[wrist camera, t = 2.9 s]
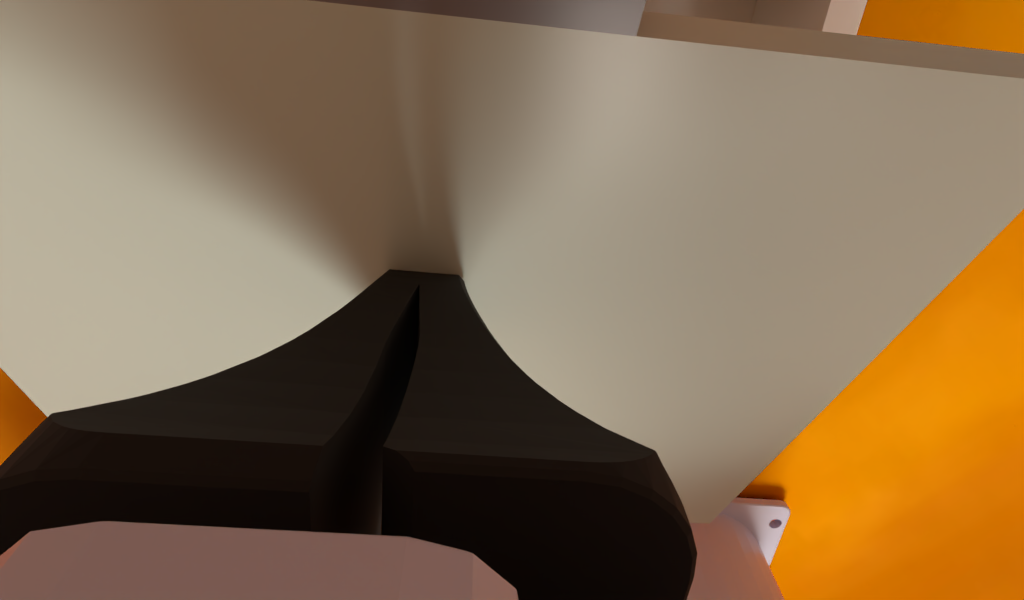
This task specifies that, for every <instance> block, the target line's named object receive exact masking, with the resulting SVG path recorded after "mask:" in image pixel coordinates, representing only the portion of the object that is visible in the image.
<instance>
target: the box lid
mask: <svg viewBox="0 0 1024 600" xmlns="http://www.w3.org/2000/svg"><path fill="white" fill-rule="evenodd" d="M645 3H646V0H0V368H1V369H2V370H3V371H4V372H5V373H6V374H7V375H8V376H9V377H10V378H11V379H12V380H13V381H14V382H15V383H16V385H17V386H18V387H19V388H20V389H21V390H22V391H23V392H24V393H25V394H26V395H27V396H28V397H29V398H30V399H31V400H32V401H33V402H34V404H35V405H36V406H37V407H38V408H39V409H40V410H41V411H42V412H43V413H44V414H45V415H46V416H47V417H48V416H49V415H50V414H52V413H56V412H62V411H68V410H74V409H79V408H84V407H89V406H94V405H99V404H104V403H109V402H114V401H119V400H124V399H129V398H134V397H138V396H142V395H146V394H150V393H154V392H157V391H161V390H165V389H168V388H172V387H176V386H179V385H183V384H186V383H189V382H192V381H195V380H199V379H202V378H205V377H208V376H211V375H213V374H216V373H219V372H221V371H224V370H226V369H229V368H231V367H234V366H236V365H239V364H241V363H244V362H246V361H249V360H251V359H254V358H257V357H259V356H261V355H263V354H265V353H267V352H269V351H271V350H273V349H275V348H277V347H279V346H281V345H283V344H285V343H287V342H289V341H291V340H293V339H295V338H296V337H298V336H300V335H302V334H303V333H305V332H307V331H308V330H310V329H311V328H313V327H314V326H316V325H317V324H319V323H320V322H322V321H323V320H325V319H326V318H328V317H329V316H331V315H332V314H334V313H335V312H337V311H338V310H340V309H341V308H342V307H343V306H345V305H346V304H347V303H349V302H350V301H351V300H352V299H354V298H355V297H356V296H357V295H359V294H360V293H361V292H362V291H364V290H365V289H366V288H367V287H368V286H370V285H371V284H372V283H373V282H374V281H375V280H377V279H378V278H379V277H380V276H382V275H383V274H384V273H385V272H387V271H388V270H389V269H392V270H404V271H417V272H429V273H441V274H454V275H459V276H460V277H461V278H462V279H463V280H464V281H465V286H466V289H467V292H468V294H469V296H470V298H471V300H472V302H473V304H474V306H475V308H476V310H477V312H478V313H479V315H480V317H481V318H482V320H483V321H484V323H485V325H486V326H487V328H488V329H489V331H490V332H491V334H492V335H493V337H494V338H495V339H496V341H497V342H498V343H499V345H500V346H501V347H502V348H503V350H504V351H505V352H506V354H507V355H508V356H509V357H510V358H511V359H512V361H513V362H514V363H515V364H516V365H518V366H519V367H520V368H521V369H522V370H523V371H524V372H525V373H526V374H527V375H528V376H529V377H530V378H531V379H532V380H534V381H535V382H536V383H537V384H538V385H540V386H541V387H542V388H544V389H545V390H546V391H547V392H549V393H550V394H551V395H553V396H554V397H555V398H557V399H558V400H559V401H561V402H562V403H564V404H565V405H567V406H568V407H570V408H571V409H573V410H575V411H576V412H578V413H579V414H581V415H583V416H585V417H586V418H588V419H590V420H592V421H593V422H595V423H597V424H599V425H600V426H602V427H604V428H606V429H608V430H610V431H613V432H615V433H617V434H619V435H621V436H624V437H626V438H628V439H630V440H633V441H635V442H637V443H639V444H642V445H644V446H646V447H648V448H650V449H653V450H655V451H656V452H657V454H658V456H659V458H660V460H661V462H662V464H663V466H664V468H665V470H666V471H667V473H668V475H669V477H670V479H671V481H672V483H673V485H674V487H675V489H676V491H677V493H678V495H679V497H680V499H681V501H682V504H683V506H684V509H685V512H686V514H687V517H688V520H689V523H706V524H710V523H711V522H712V521H713V520H714V519H715V518H716V517H717V516H718V515H719V514H720V513H721V512H722V511H723V510H724V509H725V508H726V507H727V506H728V505H729V504H730V503H731V502H732V501H733V500H734V499H735V498H736V497H737V496H738V495H739V494H740V493H741V492H742V491H743V490H744V489H745V488H746V487H747V486H748V485H749V484H750V483H751V482H752V481H753V480H754V479H755V478H756V477H757V476H758V475H759V474H760V473H761V472H762V471H763V470H764V469H765V468H766V467H767V466H768V465H769V464H770V463H771V462H772V461H773V460H774V459H775V458H776V457H777V456H778V455H779V454H780V453H781V452H782V451H783V450H784V449H785V448H786V447H787V446H788V445H789V444H790V443H791V442H792V441H793V440H794V439H795V438H796V437H797V436H798V435H799V433H800V432H801V431H802V430H803V429H804V428H805V427H806V426H807V425H808V424H809V423H810V422H811V421H812V420H813V419H814V418H815V417H816V416H817V415H818V414H819V413H820V412H821V411H822V410H823V409H824V408H825V407H826V406H827V405H828V404H829V403H830V402H831V401H832V400H833V399H834V398H835V397H836V396H837V395H838V394H839V393H840V392H841V391H842V390H843V389H844V388H845V387H846V386H847V385H848V384H849V383H850V382H851V381H852V380H853V379H854V378H855V377H856V376H857V375H858V374H859V373H860V372H861V371H862V370H863V369H864V368H865V367H866V366H867V365H868V364H869V363H870V362H871V361H872V360H873V359H874V358H875V357H876V356H877V355H878V354H879V353H880V352H881V351H882V350H883V349H884V348H885V347H886V346H887V345H888V344H889V343H890V342H891V341H892V340H893V339H894V338H895V337H896V336H897V335H898V334H899V333H900V332H901V331H902V330H903V329H904V328H905V327H906V326H907V325H908V324H909V323H910V322H911V321H912V320H913V319H914V318H915V317H916V316H917V315H918V314H919V313H920V312H921V311H922V310H923V309H924V308H925V307H926V306H927V305H928V304H929V303H930V302H931V301H932V300H933V299H934V298H935V297H936V296H937V295H938V294H939V293H940V292H941V291H942V290H943V289H944V288H945V287H946V286H947V285H948V284H949V283H950V282H951V281H952V280H953V279H954V278H955V277H956V276H957V275H958V274H959V273H960V272H961V271H962V270H963V269H964V268H965V267H966V266H967V265H968V264H969V263H970V262H971V261H972V260H973V259H974V258H975V257H976V256H977V255H978V254H979V253H980V252H981V251H982V250H983V249H984V248H985V247H986V246H987V245H988V244H989V243H990V242H991V241H992V240H993V239H994V238H995V237H996V236H997V235H998V234H999V233H1000V232H1001V231H1002V230H1003V229H1004V228H1005V227H1006V226H1007V225H1008V224H1009V223H1010V222H1011V221H1012V220H1013V219H1014V218H1015V217H1016V216H1017V215H1018V214H1019V213H1020V212H1021V211H1022V210H1023V209H1024V54H1019V53H1010V52H1001V51H992V50H984V49H975V48H966V47H957V46H948V45H939V44H930V43H921V42H913V41H904V40H895V39H886V38H877V37H868V36H859V35H851V34H842V33H833V32H824V31H815V30H806V29H797V28H788V27H780V26H771V25H762V24H753V23H744V22H735V21H726V20H717V19H709V18H700V17H691V16H682V15H673V14H664V13H655V12H646V11H643V10H644V7H645Z"/></svg>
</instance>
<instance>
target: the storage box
mask: <svg viewBox="0 0 1024 600" xmlns="http://www.w3.org/2000/svg"><path fill="white" fill-rule="evenodd" d="M866 3H867V0H646V3H645V7H644V10H643V11H646V12H655V13H664V14H673V15H682V16H691V17H700V18H709V19H717V20H726V21H735V22H744V23H753V24H762V25H771V26H780V27H788V28H797V29H806V30H815V31H824V32H833V33H842V34H851V35H856V34H857V31H858V28H859V25H860V22H861V19H862V16H863V12H864V9H865V6H866Z"/></svg>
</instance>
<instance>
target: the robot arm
mask: <svg viewBox="0 0 1024 600" xmlns="http://www.w3.org/2000/svg"><path fill="white" fill-rule="evenodd" d="M789 516H790V510H789V507H788V506H787V504H786V503H785V502H784V501H781V500H770V499H753V498H735V499H734V500H733V501H732V502H731V503H730V504H729V505H728V506H727V507H726V508H725V509H724V510H723V511H722V512H721V513H720V514H719V515H718V516H717V517H716V518H715V519H714V520H713V521H712V522H711V523H710V524H706V523H689V520H688V517H687V514H686V512H685V509H684V506H683V504H682V501H681V499H680V497H679V495H678V493H677V491H676V489H675V487H674V485H673V483H672V481H671V479H670V477H669V475H668V473H667V471H666V470H665V468H664V466H663V464H662V462H661V460H660V458H659V456H658V454H657V452H656V451H655V450H653V449H650V448H648V447H646V446H644V445H642V444H639V443H637V442H635V441H633V440H630V439H628V438H626V437H624V436H621V435H619V434H617V433H615V432H613V431H610V430H608V429H606V428H604V427H602V426H600V425H599V424H597V423H595V422H593V421H592V420H590V419H588V418H586V417H585V416H583V415H581V414H579V413H578V412H576V411H575V410H573V409H571V408H570V407H568V406H567V405H565V404H564V403H562V402H561V401H559V400H558V399H557V398H555V397H554V396H553V395H551V394H550V393H549V392H547V391H546V390H545V389H544V388H542V387H541V386H540V385H538V384H537V383H536V382H535V381H534V380H532V379H531V378H530V377H529V376H528V375H527V374H526V373H525V372H524V371H523V370H522V369H521V368H520V367H519V366H518V365H516V364H515V363H514V362H513V361H512V359H511V358H510V357H509V356H508V355H507V354H506V352H505V351H504V350H503V348H502V347H501V346H500V345H499V343H498V342H497V341H496V339H495V338H494V337H493V335H492V334H491V332H490V331H489V329H488V328H487V326H486V325H485V323H484V321H483V320H482V318H481V317H480V315H479V313H478V312H477V310H476V308H475V306H474V304H473V302H472V300H471V298H470V296H469V294H468V292H467V289H466V286H465V281H464V280H463V279H462V278H461V277H460V276H459V275H454V274H441V273H429V272H417V271H404V270H392V269H389V270H388V271H387V272H385V273H384V274H383V275H382V276H380V277H379V278H378V279H377V280H375V281H374V282H373V283H372V284H371V285H370V286H368V287H367V288H366V289H365V290H364V291H362V292H361V293H360V294H359V295H357V296H356V297H355V298H354V299H352V300H351V301H350V302H349V303H347V304H346V305H345V306H343V307H342V308H341V309H340V310H338V311H337V312H335V313H334V314H332V315H331V316H329V317H328V318H326V319H325V320H323V321H322V322H320V323H319V324H317V325H316V326H314V327H313V328H311V329H310V330H308V331H307V332H305V333H303V334H302V335H300V336H298V337H296V338H295V339H293V340H291V341H289V342H287V343H285V344H283V345H281V346H279V347H277V348H275V349H273V350H271V351H269V352H267V353H265V354H263V355H261V356H259V357H257V358H254V359H251V360H249V361H246V362H244V363H241V364H239V365H236V366H234V367H231V368H229V369H226V370H224V371H221V372H219V373H216V374H213V375H211V376H208V377H205V378H202V379H199V380H195V381H192V382H189V383H186V384H183V385H179V386H176V387H172V388H168V389H165V390H161V391H157V392H154V393H150V394H146V395H142V396H138V397H134V398H129V399H124V400H119V401H114V402H109V403H104V404H99V405H94V406H89V407H84V408H79V409H74V410H68V411H62V412H56V413H52V414H50V415H49V416H48V417H47V418H46V419H45V420H44V421H43V422H42V423H41V424H40V425H39V426H38V427H37V428H36V429H35V430H34V431H33V432H32V433H31V434H30V435H29V436H28V437H27V438H26V439H25V440H24V441H23V443H22V444H21V445H20V446H19V447H18V448H17V449H16V450H15V451H14V452H13V453H12V454H11V455H10V456H9V457H8V458H7V459H6V460H5V461H4V463H3V464H2V465H1V466H0V600H784V598H783V596H782V594H781V591H780V589H779V587H778V585H777V583H776V580H775V578H774V576H773V574H772V572H771V569H770V567H769V566H770V563H771V561H772V558H773V556H774V553H775V551H776V548H777V546H778V543H779V541H780V538H781V536H782V533H783V531H784V528H785V526H786V523H787V521H788V518H789ZM775 519H776V520H775ZM772 520H774V521H772Z"/></svg>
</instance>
